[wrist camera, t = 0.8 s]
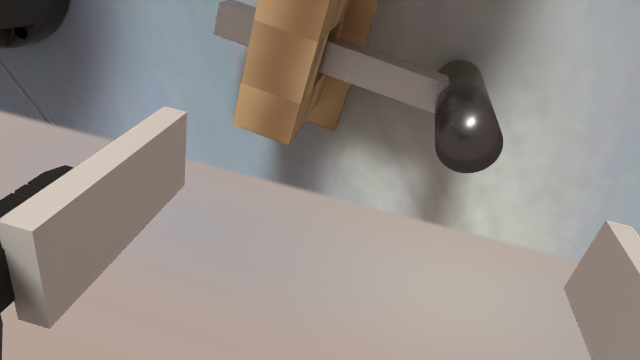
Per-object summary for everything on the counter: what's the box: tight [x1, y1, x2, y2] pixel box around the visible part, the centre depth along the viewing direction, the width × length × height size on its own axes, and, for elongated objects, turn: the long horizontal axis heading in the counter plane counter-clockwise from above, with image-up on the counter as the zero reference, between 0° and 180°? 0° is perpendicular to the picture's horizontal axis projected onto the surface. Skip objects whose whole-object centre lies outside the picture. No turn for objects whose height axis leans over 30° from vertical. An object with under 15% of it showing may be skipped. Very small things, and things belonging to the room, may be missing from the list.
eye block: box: [232, 0, 379, 145], centre depth 32 cm, size 8×14×10 cm, turn 163°
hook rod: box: [214, 0, 503, 173], centre depth 31 cm, size 20×4×12 cm, turn 73°
